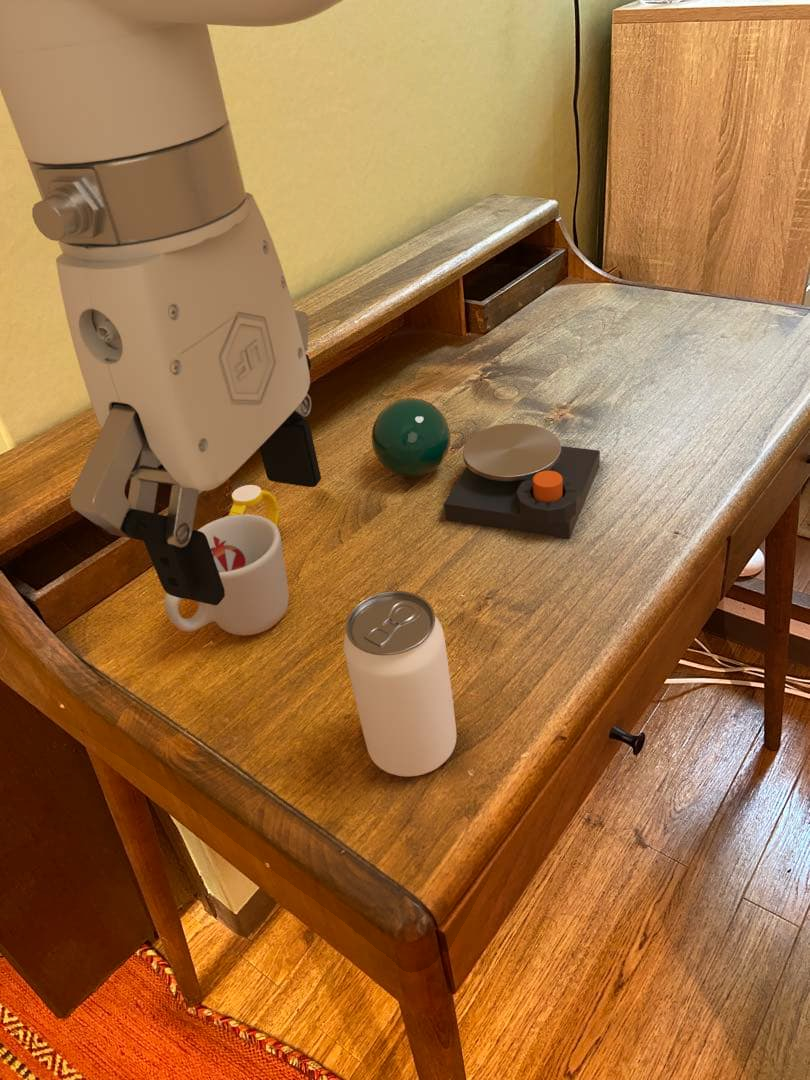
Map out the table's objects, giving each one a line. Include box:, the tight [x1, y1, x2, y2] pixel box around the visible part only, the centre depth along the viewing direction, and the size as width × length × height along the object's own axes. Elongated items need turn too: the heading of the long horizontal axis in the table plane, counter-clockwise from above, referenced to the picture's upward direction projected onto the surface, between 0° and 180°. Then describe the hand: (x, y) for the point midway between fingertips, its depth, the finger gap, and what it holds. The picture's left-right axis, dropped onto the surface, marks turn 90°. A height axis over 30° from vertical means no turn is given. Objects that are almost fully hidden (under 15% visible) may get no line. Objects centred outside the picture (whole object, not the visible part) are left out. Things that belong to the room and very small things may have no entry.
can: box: [343, 590, 458, 777], centre depth 55 cm, size 6×6×12 cm
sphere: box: [371, 397, 451, 479], centre depth 83 cm, size 8×8×8 cm
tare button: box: [533, 471, 563, 502], centre depth 74 cm, size 3×3×2 cm
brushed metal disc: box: [462, 422, 562, 481], centre depth 79 cm, size 9×9×1 cm
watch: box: [228, 484, 280, 527], centre depth 77 cm, size 6×3×6 cm, turn 151°
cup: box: [164, 513, 290, 636], centre depth 68 cm, size 11×8×8 cm
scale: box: [443, 445, 601, 540], centre depth 79 cm, size 12×13×4 cm
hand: (249, 534), depth 42 cm, fingers open, 9 cm apart
